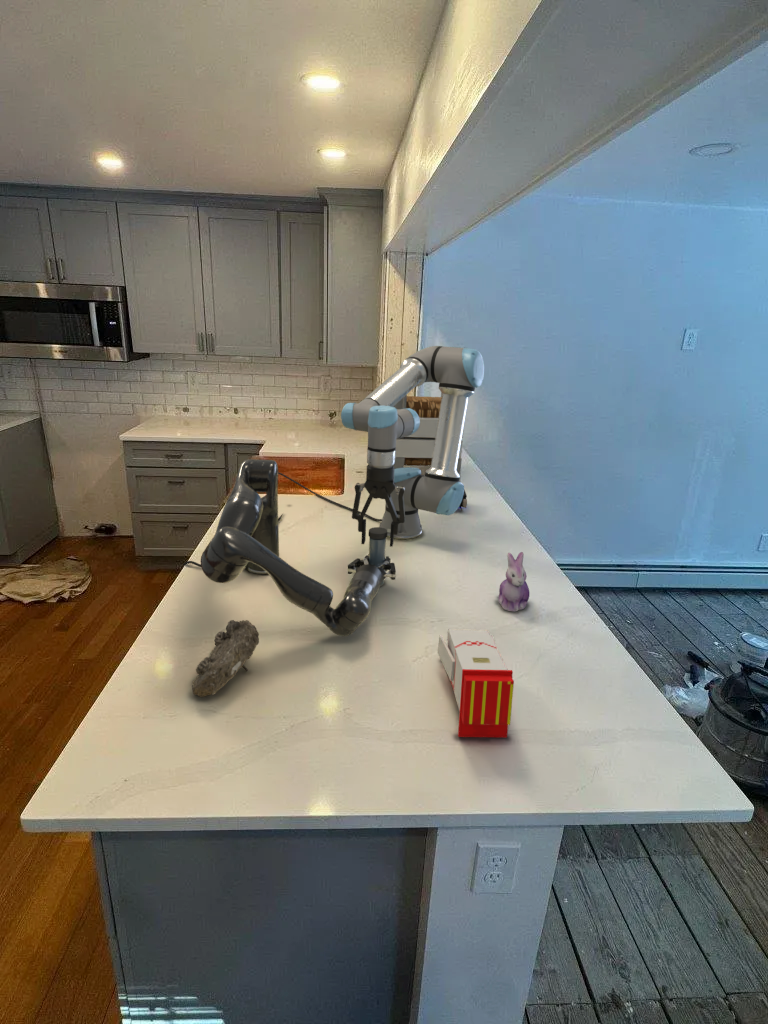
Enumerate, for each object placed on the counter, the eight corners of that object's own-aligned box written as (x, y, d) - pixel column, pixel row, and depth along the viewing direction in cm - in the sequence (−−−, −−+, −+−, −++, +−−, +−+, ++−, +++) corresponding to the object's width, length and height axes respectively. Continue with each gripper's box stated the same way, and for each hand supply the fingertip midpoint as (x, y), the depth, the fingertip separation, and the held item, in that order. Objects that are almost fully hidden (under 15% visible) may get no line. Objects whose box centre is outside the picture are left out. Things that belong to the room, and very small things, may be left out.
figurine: (511, 616, 149) (518, 564, 143) (487, 598, 157) (493, 549, 152) (539, 609, 153) (547, 558, 148) (514, 592, 161) (521, 544, 156)
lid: (364, 536, 158) (364, 531, 157) (375, 530, 162) (375, 525, 162) (380, 541, 155) (380, 535, 155) (390, 535, 160) (391, 530, 159)
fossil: (211, 622, 131) (258, 592, 126) (240, 650, 134) (286, 622, 129) (171, 690, 112) (224, 658, 107) (205, 721, 115) (258, 691, 110)
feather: (290, 508, 223) (292, 504, 223) (272, 532, 197) (275, 527, 196) (286, 505, 223) (289, 501, 223) (268, 529, 197) (271, 525, 196)
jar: (377, 577, 167) (380, 528, 162) (387, 584, 163) (389, 533, 158) (364, 581, 164) (366, 531, 159) (373, 587, 161) (375, 536, 155)
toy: (488, 613, 130) (523, 677, 101) (484, 667, 133) (517, 744, 104) (435, 612, 130) (455, 676, 101) (432, 666, 133) (451, 743, 103)
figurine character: (467, 516, 223) (461, 500, 237) (469, 499, 220) (463, 483, 233) (450, 516, 223) (446, 499, 236) (452, 498, 220) (447, 483, 233)
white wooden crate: (382, 463, 289) (386, 382, 275) (445, 464, 293) (451, 384, 279) (390, 482, 257) (394, 392, 243) (460, 483, 261) (468, 394, 247)
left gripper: (338, 593, 151) (354, 566, 167) (391, 600, 148) (402, 572, 164) (338, 567, 148) (355, 543, 164) (392, 574, 146) (403, 549, 162)
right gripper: (419, 464, 154) (414, 541, 162) (346, 458, 156) (344, 535, 164) (417, 471, 147) (412, 551, 155) (341, 465, 149) (339, 545, 157)
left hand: (378, 558), depth 164 cm, fingers closed on jar, 4 cm apart
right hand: (377, 543), depth 160 cm, fingers open, 7 cm apart
